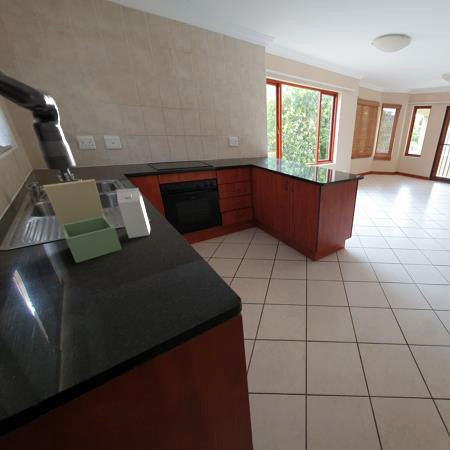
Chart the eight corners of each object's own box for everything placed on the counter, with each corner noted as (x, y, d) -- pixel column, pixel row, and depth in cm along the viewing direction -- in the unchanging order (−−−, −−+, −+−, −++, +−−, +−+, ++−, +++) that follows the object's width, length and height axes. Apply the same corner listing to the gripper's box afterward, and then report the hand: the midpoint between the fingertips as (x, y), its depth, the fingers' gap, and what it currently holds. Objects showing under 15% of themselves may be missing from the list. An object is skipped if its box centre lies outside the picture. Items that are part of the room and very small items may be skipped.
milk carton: (131, 232, 99) (117, 187, 92) (150, 228, 102) (139, 186, 95) (128, 238, 94) (114, 192, 86) (149, 235, 97) (137, 190, 89)
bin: (121, 249, 86) (114, 227, 82) (76, 263, 77) (65, 239, 74) (111, 236, 96) (104, 216, 92) (69, 247, 87) (60, 225, 84)
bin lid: (95, 180, 82) (90, 172, 84) (43, 186, 73) (39, 178, 75) (104, 215, 92) (100, 208, 94) (60, 224, 83) (56, 216, 85)
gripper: (74, 154, 80) (92, 203, 87) (69, 151, 88) (85, 196, 95) (43, 156, 75) (64, 208, 82) (40, 153, 83) (60, 200, 90)
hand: (75, 201), depth 88 cm, fingers closed
